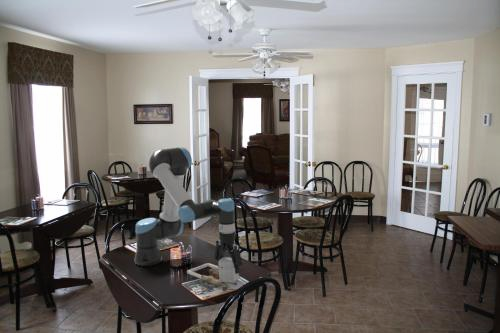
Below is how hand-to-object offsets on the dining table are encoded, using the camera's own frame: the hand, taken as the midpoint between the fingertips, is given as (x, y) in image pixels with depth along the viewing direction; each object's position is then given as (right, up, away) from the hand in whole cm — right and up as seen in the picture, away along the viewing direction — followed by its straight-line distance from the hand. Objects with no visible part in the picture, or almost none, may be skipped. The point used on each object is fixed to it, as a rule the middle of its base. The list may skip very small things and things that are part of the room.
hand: (228, 276), depth 207 cm
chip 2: (-5, -1, +5) cm, 8 cm away
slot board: (-4, -3, +5) cm, 7 cm away
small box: (0, -2, 0) cm, 2 cm away
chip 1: (-7, -1, +9) cm, 12 cm away
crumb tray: (-13, -2, +12) cm, 18 cm away
